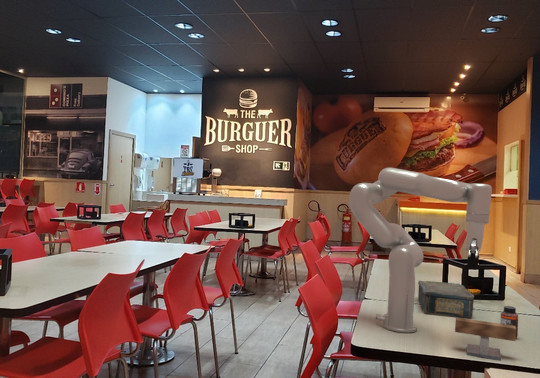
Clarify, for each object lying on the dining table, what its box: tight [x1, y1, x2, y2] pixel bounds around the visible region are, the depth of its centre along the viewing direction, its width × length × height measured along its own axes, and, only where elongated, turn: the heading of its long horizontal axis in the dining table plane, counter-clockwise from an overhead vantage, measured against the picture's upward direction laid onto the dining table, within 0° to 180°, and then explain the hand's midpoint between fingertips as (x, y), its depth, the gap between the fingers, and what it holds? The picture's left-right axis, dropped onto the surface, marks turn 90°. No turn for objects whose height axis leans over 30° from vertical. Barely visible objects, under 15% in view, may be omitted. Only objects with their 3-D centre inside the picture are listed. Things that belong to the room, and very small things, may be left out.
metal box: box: [417, 280, 475, 319], centre depth 225 cm, size 21×32×10 cm, turn 168°
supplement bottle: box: [499, 305, 519, 339], centre depth 182 cm, size 6×6×11 cm
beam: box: [454, 317, 517, 342], centre depth 161 cm, size 18×4×4 cm, turn 67°
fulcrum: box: [466, 336, 502, 362], centre depth 161 cm, size 10×10×6 cm
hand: (472, 267), depth 172 cm, fingers open, 9 cm apart
